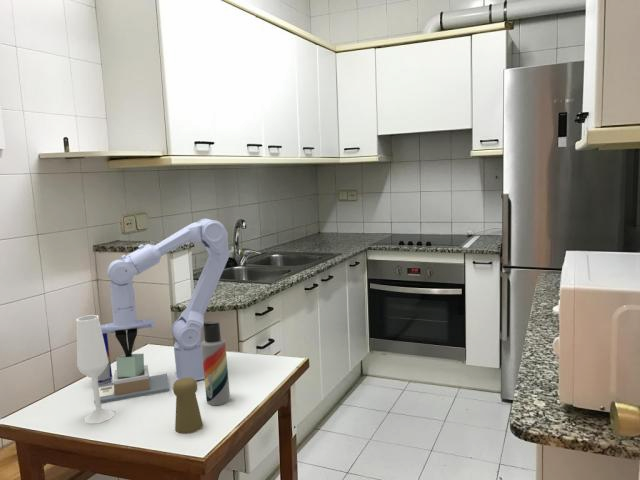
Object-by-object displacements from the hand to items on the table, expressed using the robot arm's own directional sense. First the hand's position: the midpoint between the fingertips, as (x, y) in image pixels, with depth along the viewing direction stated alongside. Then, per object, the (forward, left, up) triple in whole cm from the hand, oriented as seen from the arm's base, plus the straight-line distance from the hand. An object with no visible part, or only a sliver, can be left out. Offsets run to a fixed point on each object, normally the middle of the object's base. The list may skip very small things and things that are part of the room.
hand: (128, 357), depth 141 cm
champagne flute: (+7, +13, -9) cm, 18 cm away
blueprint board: (0, 0, -9) cm, 9 cm away
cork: (-12, +28, -9) cm, 32 cm away
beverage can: (+8, -9, -9) cm, 15 cm away
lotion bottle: (-20, +17, -9) cm, 28 cm away
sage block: (0, 0, -5) cm, 5 cm away
